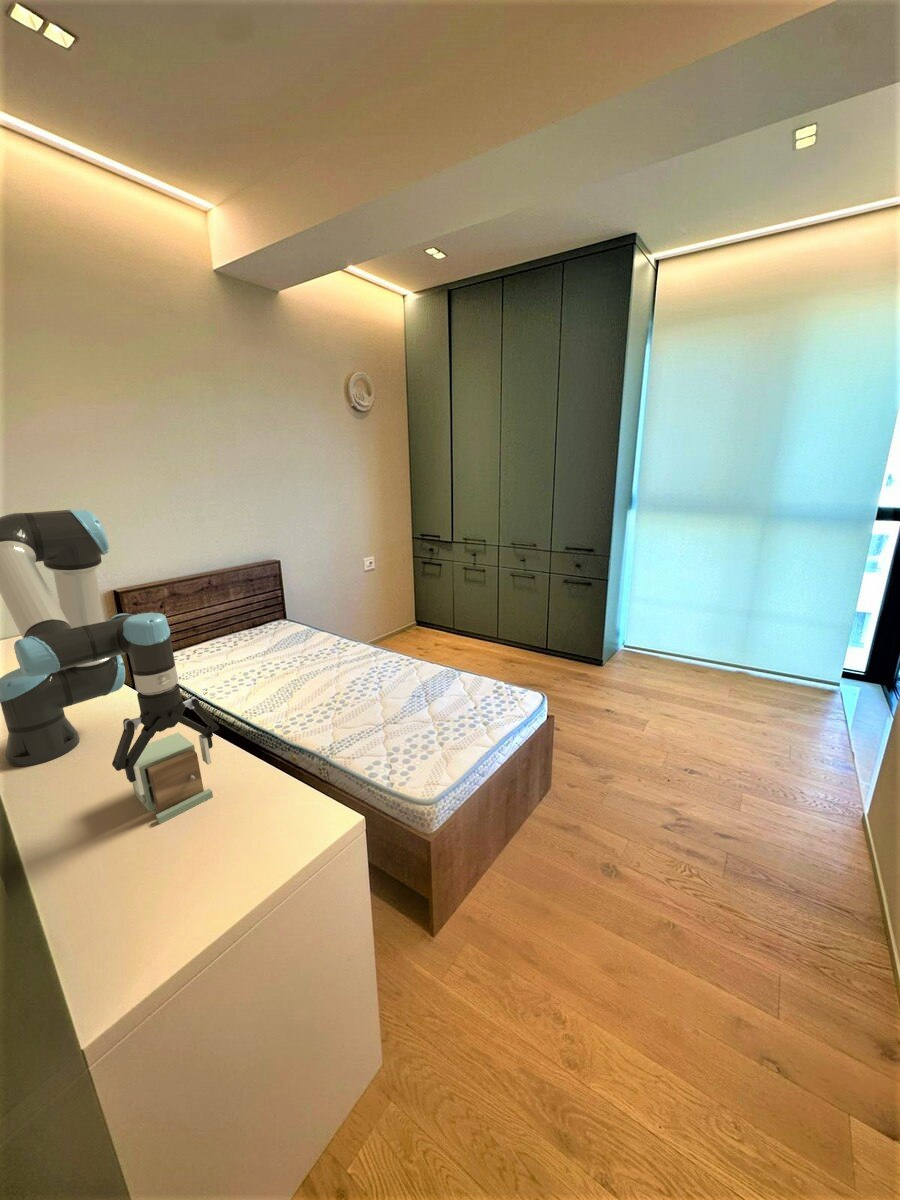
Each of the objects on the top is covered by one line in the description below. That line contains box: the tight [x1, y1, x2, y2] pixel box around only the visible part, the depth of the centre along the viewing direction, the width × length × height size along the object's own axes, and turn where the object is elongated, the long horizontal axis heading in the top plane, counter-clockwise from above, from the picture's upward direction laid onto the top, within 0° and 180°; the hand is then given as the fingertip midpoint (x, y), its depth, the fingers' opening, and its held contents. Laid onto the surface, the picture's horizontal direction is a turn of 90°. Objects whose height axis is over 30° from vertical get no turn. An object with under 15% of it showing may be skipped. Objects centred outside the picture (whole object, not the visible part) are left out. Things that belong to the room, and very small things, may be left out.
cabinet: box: [127, 731, 214, 825], centre depth 105 cm, size 15×12×11 cm
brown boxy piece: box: [147, 750, 205, 814], centre depth 102 cm, size 4×9×11 cm, turn 140°
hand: (175, 776), depth 103 cm, fingers open, 13 cm apart
